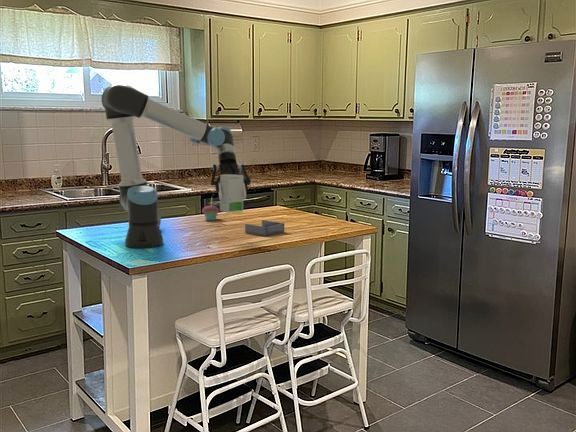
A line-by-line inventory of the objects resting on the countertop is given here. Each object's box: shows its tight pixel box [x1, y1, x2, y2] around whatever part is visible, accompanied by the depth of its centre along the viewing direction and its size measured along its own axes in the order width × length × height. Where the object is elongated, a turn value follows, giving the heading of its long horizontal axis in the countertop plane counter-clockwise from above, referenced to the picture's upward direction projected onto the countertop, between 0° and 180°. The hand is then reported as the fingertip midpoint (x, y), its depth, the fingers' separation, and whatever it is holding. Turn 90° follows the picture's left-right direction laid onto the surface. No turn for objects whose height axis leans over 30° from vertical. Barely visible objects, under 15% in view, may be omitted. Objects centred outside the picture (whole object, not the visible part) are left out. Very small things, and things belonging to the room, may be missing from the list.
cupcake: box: [201, 197, 220, 221], centre depth 287 cm, size 9×8×12 cm
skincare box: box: [219, 174, 244, 214], centre depth 241 cm, size 8×7×16 cm
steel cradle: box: [244, 219, 285, 237], centre depth 258 cm, size 13×13×4 cm
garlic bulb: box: [158, 212, 162, 229], centre depth 263 cm, size 9×8×10 cm
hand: (233, 197), depth 239 cm, fingers closed on skincare box, 10 cm apart
